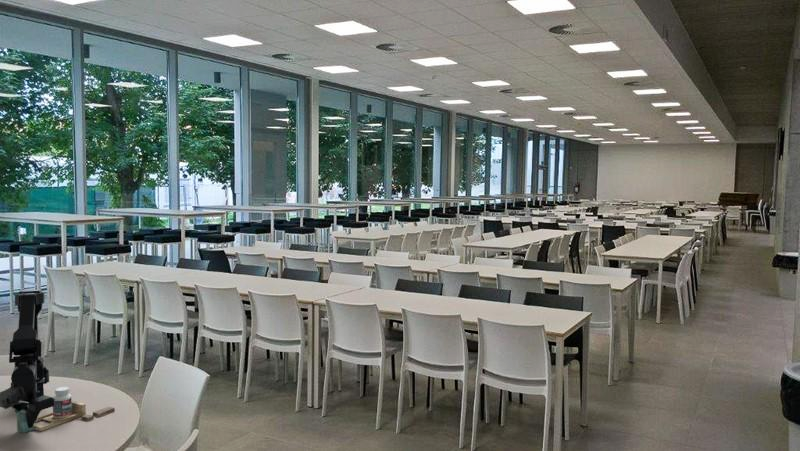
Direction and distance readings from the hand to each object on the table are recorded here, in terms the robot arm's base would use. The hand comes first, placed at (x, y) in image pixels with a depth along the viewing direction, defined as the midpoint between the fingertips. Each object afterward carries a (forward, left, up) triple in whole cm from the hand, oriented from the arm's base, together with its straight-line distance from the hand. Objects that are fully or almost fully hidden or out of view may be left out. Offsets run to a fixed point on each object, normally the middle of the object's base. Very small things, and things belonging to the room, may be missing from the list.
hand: (26, 426), depth 193 cm
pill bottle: (0, +12, -1) cm, 12 cm away
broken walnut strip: (+8, +19, -1) cm, 21 cm away
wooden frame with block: (0, +7, -1) cm, 8 cm away
